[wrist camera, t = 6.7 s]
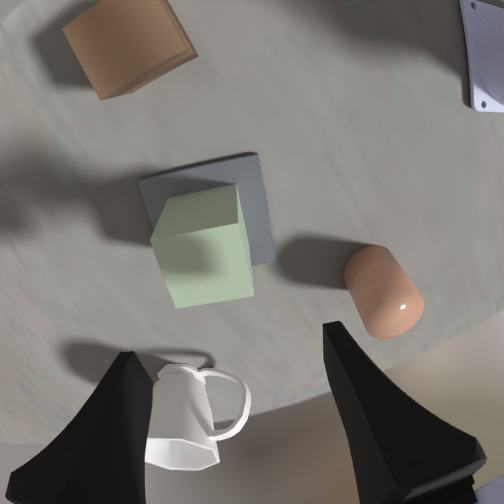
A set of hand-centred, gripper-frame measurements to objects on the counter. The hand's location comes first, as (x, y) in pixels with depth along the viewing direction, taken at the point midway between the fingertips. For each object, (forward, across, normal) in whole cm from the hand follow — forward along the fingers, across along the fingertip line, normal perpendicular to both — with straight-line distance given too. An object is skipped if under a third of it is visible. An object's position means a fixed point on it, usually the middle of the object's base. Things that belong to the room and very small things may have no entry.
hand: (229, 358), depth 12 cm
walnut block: (+10, +2, -12) cm, 16 cm away
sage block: (+10, +1, -1) cm, 10 cm away
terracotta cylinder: (+10, -9, +5) cm, 14 cm away
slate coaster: (+10, +1, -1) cm, 10 cm away
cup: (+10, +6, +13) cm, 17 cm away
